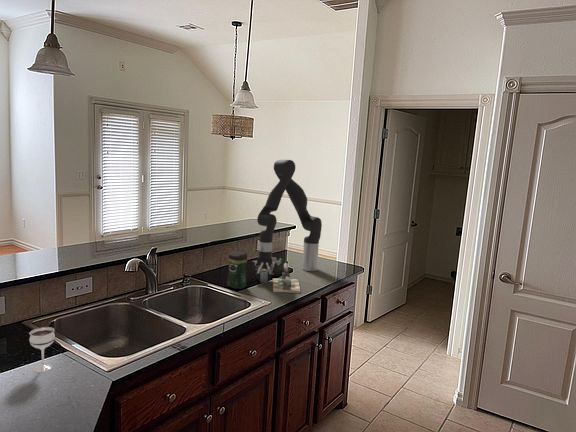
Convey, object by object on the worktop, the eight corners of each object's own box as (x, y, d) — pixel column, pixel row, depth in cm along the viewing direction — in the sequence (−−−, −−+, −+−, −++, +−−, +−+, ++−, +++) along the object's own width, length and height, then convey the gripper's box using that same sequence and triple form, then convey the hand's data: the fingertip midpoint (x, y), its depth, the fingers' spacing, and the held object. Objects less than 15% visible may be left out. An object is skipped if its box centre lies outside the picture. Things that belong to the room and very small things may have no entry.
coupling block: (260, 280, 231) (260, 268, 230) (267, 280, 231) (268, 269, 230) (260, 282, 227) (260, 270, 226) (267, 282, 227) (268, 271, 226)
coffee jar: (248, 286, 218) (250, 252, 215) (238, 290, 212) (240, 254, 209) (234, 282, 223) (236, 249, 221) (224, 286, 217) (225, 251, 214)
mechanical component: (280, 276, 241) (281, 259, 239) (263, 274, 243) (264, 257, 241) (281, 274, 244) (282, 258, 242) (264, 272, 246) (265, 256, 244)
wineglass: (43, 361, 133) (42, 325, 131) (60, 365, 131) (60, 329, 129) (24, 371, 126) (23, 334, 125) (42, 375, 125) (41, 338, 123)
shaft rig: (272, 277, 237) (273, 262, 236) (297, 278, 238) (298, 263, 236) (273, 294, 209) (274, 276, 207) (301, 295, 209) (302, 278, 208)
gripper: (278, 248, 231) (276, 278, 233) (252, 247, 230) (251, 277, 232) (278, 251, 223) (277, 282, 226) (251, 250, 222) (250, 281, 225)
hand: (263, 279), depth 229 cm, fingers open, 5 cm apart
